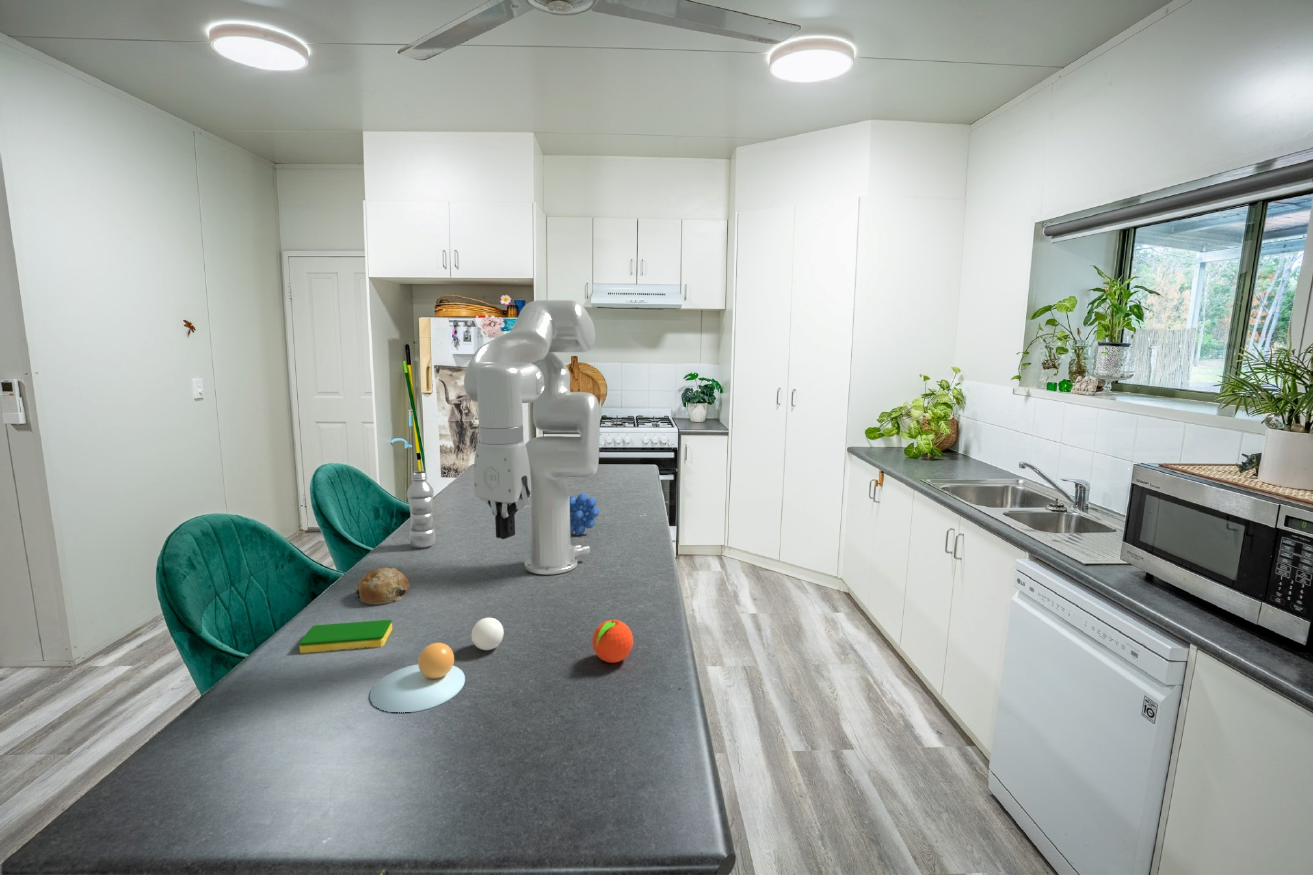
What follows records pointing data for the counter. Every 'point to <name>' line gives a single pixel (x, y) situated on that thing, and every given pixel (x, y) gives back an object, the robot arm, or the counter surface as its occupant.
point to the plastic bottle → (421, 511)
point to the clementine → (612, 641)
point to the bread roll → (382, 586)
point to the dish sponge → (346, 636)
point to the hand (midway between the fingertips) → (505, 536)
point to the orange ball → (436, 660)
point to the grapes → (582, 513)
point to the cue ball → (487, 633)
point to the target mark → (415, 690)
